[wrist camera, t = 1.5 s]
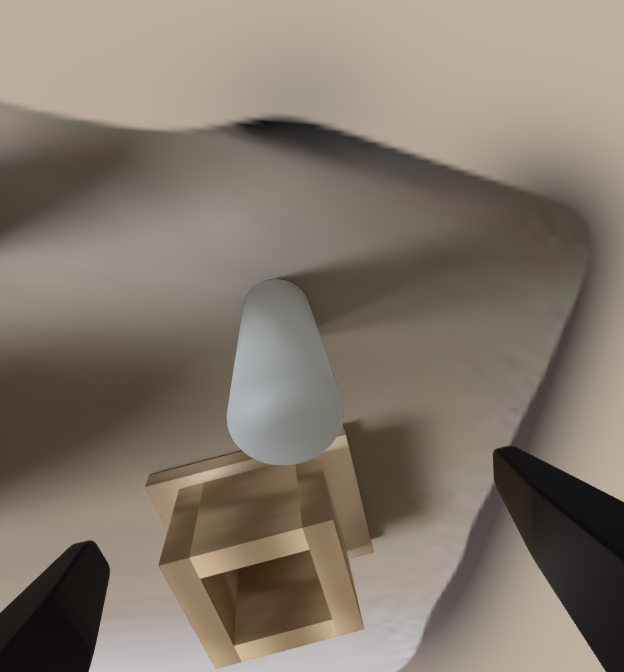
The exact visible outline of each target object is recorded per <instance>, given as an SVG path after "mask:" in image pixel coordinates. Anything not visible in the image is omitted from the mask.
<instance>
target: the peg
mask: <svg viewBox="0 0 624 672" xmlns="http://www.w3.org/2000/svg"><path fill="white" fill-rule="evenodd" d="M343 419H344V407H343V402H342V399H341V396H340V393H339V390H338V387H337V384H336V381H335V378H334V375H333V372H332V369H331V367H330V364H329V361H328V358H327V355H326V352H325V349H324V346H323V343H322V340H321V337H320V335H319V332H318V329H317V326H316V323H315V320H314V317H313V314H312V311H311V308H310V305H309V302H308V300H307V297H306V295H305V294H304V292H303V291H302V290H301V289H300V288H299V287H298V286H296V285H295V284H293V283H291V282H289V281H286V280H281V279H272V280H267V281H264V282H262V283H259V284H258V285H256V286H255V287H254V288H253V289H252V290H251V291H250V292H249V293H248V295H247V297H246V299H245V302H244V306H243V312H242V318H241V325H240V331H239V338H238V344H237V351H236V357H235V364H234V370H233V377H232V384H231V390H230V397H229V403H228V410H227V425H228V429H229V433H230V435H231V437H232V439H233V441H234V442H235V444H236V445H237V446H238V447H239V448H240V449H241V450H242V451H243V452H244V453H245V454H247V455H248V456H250V457H252V458H254V459H256V460H258V461H261V462H263V463H267V464H272V465H293V464H298V463H302V462H305V461H308V460H310V459H312V458H314V457H316V456H318V455H320V454H321V453H322V452H324V451H325V450H326V449H327V448H328V447H329V446H330V445H331V444H332V443H333V442H334V441H335V439H336V438H337V436H338V434H339V432H340V430H341V427H342V424H343Z"/></svg>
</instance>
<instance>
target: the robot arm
mask: <svg viewBox="0 0 624 672" xmlns="http://www.w3.org/2000/svg"><path fill="white" fill-rule="evenodd" d="M493 469H494V481H495V484H496V487H497V489H498V491H499V493H500V495H501V497H502V499H503V501H504V503H505V505H506V507H507V509H508V511H509V513H510V515H511V517H512V519H513V521H514V522H515V524H516V526H517V528H518V530H519V532H520V534H521V536H522V538H523V540H524V542H525V544H526V546H527V548H528V550H529V552H530V553H531V555H532V557H533V559H534V560H535V562H536V564H537V565H538V567H539V568H540V570H541V571H542V573H543V575H544V576H545V578H546V579H547V581H548V582H549V584H550V585H551V587H552V589H553V590H554V592H555V593H556V595H557V596H558V598H559V599H560V601H561V602H562V604H563V606H564V607H565V609H566V610H567V612H568V613H569V615H570V617H571V618H572V620H573V621H574V623H575V624H576V626H577V627H578V629H579V631H580V632H581V634H582V635H583V637H584V638H585V640H586V641H587V643H588V645H589V646H590V647H591V649H592V651H593V652H594V654H595V655H596V657H597V658H598V660H599V662H600V663H601V665H602V666H603V668H604V669H605V671H606V672H624V502H622V501H620V500H619V499H616V498H615V497H613V496H611V495H608V494H607V493H605V492H603V491H601V490H599V489H597V488H595V487H593V486H591V485H589V484H587V483H585V482H583V481H581V480H580V479H578V478H576V477H574V476H572V475H570V474H568V473H566V472H564V471H562V470H560V469H558V468H556V467H554V466H552V465H550V464H548V463H546V462H544V461H543V460H540V459H539V458H537V457H535V456H533V455H531V454H529V453H527V452H525V451H523V450H521V449H519V448H517V447H515V446H506V447H501V448H497V449H495V450H494V452H493ZM109 576H110V568H109V564H108V562H107V561H106V559H105V557H104V556H103V554H102V552H101V551H100V549H99V547H98V546H97V544H96V543H95V542H94V541H90V540H89V541H84V542H80V543H76V544H73V545H72V546H70V547H69V548H68V549H67V550H66V551H65V552H64V553H63V554H62V555H61V556H60V557H59V558H58V559H56V560H55V561H54V562H53V563H52V564H51V565H50V566H49V567H48V568H47V569H46V570H45V571H44V572H43V573H42V574H41V575H40V576H39V577H38V578H36V579H35V580H34V581H33V582H32V583H31V584H30V585H29V586H28V587H27V588H26V589H25V590H24V591H23V592H22V593H21V594H20V595H19V596H18V597H17V598H15V599H14V600H13V601H12V602H11V603H10V604H9V605H8V606H7V607H6V608H5V609H4V610H3V611H2V612H1V613H0V672H89V668H90V665H91V661H92V658H93V654H94V650H95V645H96V641H97V636H98V631H99V626H100V621H101V616H102V611H103V606H104V601H105V596H106V591H107V586H108V581H109Z"/></svg>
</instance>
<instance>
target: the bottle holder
mask: <svg viewBox="0 0 624 672" xmlns="http://www.w3.org/2000/svg"><path fill="white" fill-rule="evenodd" d="M145 489H146V490H147V492H148V494H149V496H150V498H151V500H152V502H153V504H154V506H155V508H156V510H157V512H158V514H159V516H160V518H161V520H162V522H163V524H164V525H165V527H166V529H167V531H168V532H167V536H166V539H165V543H164V547H163V551H162V554H161V558H160V562H159V568H160V570H161V572H162V573H163V575H164V577H165V579H166V581H167V582H168V584H169V586H170V588H171V590H172V591H173V593H174V595H175V597H176V599H177V600H178V602H179V604H180V606H181V608H182V609H183V611H184V613H185V615H186V617H187V619H188V620H189V622H190V624H191V626H192V628H193V629H194V631H195V633H196V635H197V637H198V638H199V640H200V642H201V644H202V646H203V647H204V649H205V651H206V653H207V655H208V656H209V658H210V660H211V662H212V664H213V666H214V667H215V669H218V668H222V667H225V666H229V665H233V664H237V663H240V662H244V661H248V660H251V659H255V658H259V657H263V656H266V655H270V654H274V653H278V652H281V651H285V650H289V649H292V648H296V647H300V646H304V645H307V644H311V643H315V642H318V641H322V640H326V639H330V638H333V637H337V636H341V635H344V634H348V633H352V632H356V631H359V630H363V629H364V627H363V622H362V618H361V613H360V609H359V604H358V600H357V595H356V591H355V586H354V581H353V577H352V572H351V568H350V563H349V559H351V558H355V557H359V556H362V555H366V554H370V553H374V550H373V546H372V542H371V538H370V534H369V530H368V525H367V521H366V517H365V513H364V509H363V504H362V500H361V496H360V492H359V488H358V484H357V479H356V475H355V471H354V467H353V463H352V458H351V454H350V450H349V446H348V442H347V437H346V434H345V430H344V427H343V425H342V427H341V430H340V432H339V434H338V436H337V438H336V439H335V441H334V442H333V443H332V444H331V445H330V446H329V447H328V448H327V449H326V450H325V451H324V452H322V453H321V454H320V455H318V456H316V457H314V458H312V459H310V460H308V461H305V462H302V463H298V464H293V465H272V464H267V463H263V462H261V461H258V460H256V459H254V458H252V457H250V456H248V455H247V454H245V453H244V452H243V451H241V452H237V453H233V454H229V455H225V456H221V457H218V458H214V459H210V460H206V461H202V462H198V463H195V464H191V465H187V466H183V467H179V468H175V469H172V470H168V471H164V472H160V473H156V474H152V475H149V478H148V480H147V483H146V486H145Z"/></svg>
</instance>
